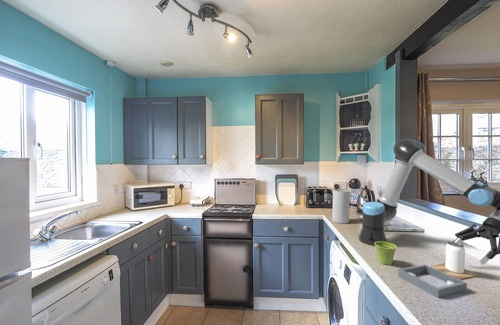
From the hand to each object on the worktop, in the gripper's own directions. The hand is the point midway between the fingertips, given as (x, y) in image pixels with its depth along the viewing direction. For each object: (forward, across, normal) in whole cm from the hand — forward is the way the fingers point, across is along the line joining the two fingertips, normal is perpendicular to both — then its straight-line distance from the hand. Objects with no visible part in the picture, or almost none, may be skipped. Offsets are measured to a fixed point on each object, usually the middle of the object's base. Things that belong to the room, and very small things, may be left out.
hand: (465, 255), depth 105 cm
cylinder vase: (+21, +81, +10) cm, 84 cm away
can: (+8, 0, -2) cm, 8 cm away
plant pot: (+27, +10, +17) cm, 33 cm away
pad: (+8, +1, -2) cm, 9 cm away
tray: (+22, -9, +12) cm, 26 cm away
